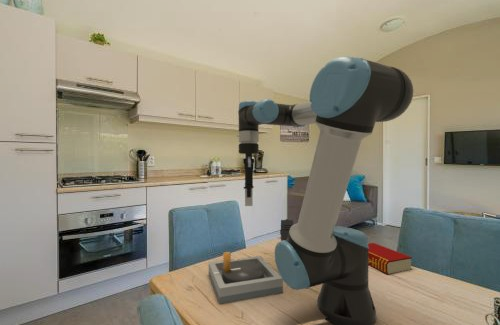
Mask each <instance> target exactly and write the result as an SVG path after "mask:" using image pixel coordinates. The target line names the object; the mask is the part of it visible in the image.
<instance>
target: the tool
mask: <svg viewBox="0 0 500 325" xmlns="http://www.w3.org/2000/svg"><path fill="white" fill-rule="evenodd" d="M292 225H294V220H293V219H287V218H286V219H281V220H280V230H279V231H280V233H279V235H280V242H281V241H282V240H287V238H288V234H289V230H290V228H291V226H292Z"/></svg>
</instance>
